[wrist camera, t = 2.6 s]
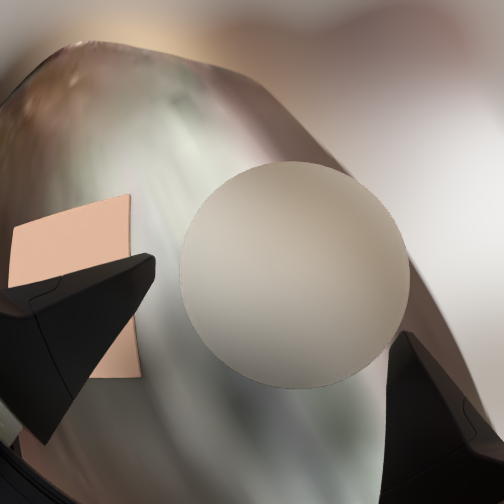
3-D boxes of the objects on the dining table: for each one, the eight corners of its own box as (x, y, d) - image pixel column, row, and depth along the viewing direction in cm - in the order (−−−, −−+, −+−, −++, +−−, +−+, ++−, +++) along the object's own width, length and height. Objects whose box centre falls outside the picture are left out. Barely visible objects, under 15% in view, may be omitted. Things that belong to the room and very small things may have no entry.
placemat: (141, 376, 16) (140, 377, 16) (14, 372, 16) (12, 372, 15) (130, 195, 20) (128, 193, 20) (16, 228, 19) (14, 227, 19)
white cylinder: (264, 372, 16) (285, 437, 5) (212, 309, 17) (136, 247, 6) (326, 319, 17) (443, 276, 6) (275, 260, 18) (305, 130, 7)
